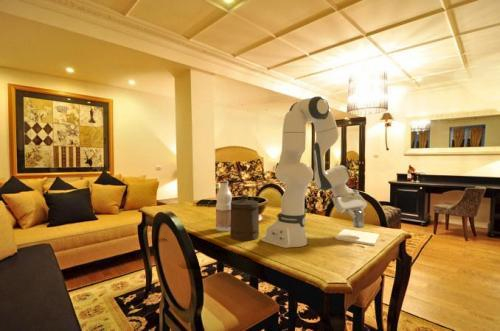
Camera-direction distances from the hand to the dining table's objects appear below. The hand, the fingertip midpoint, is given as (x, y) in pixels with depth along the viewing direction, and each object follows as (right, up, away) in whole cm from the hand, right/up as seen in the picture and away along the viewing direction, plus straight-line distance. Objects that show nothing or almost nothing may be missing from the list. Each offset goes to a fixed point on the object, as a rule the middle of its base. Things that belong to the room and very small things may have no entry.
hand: (359, 216), depth 129 cm
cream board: (-1, -11, +1) cm, 11 cm away
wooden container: (-59, -11, +2) cm, 60 cm away
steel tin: (0, -5, +1) cm, 5 cm away
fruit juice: (-71, -11, +15) cm, 74 cm away
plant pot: (-25, -11, +31) cm, 41 cm away
